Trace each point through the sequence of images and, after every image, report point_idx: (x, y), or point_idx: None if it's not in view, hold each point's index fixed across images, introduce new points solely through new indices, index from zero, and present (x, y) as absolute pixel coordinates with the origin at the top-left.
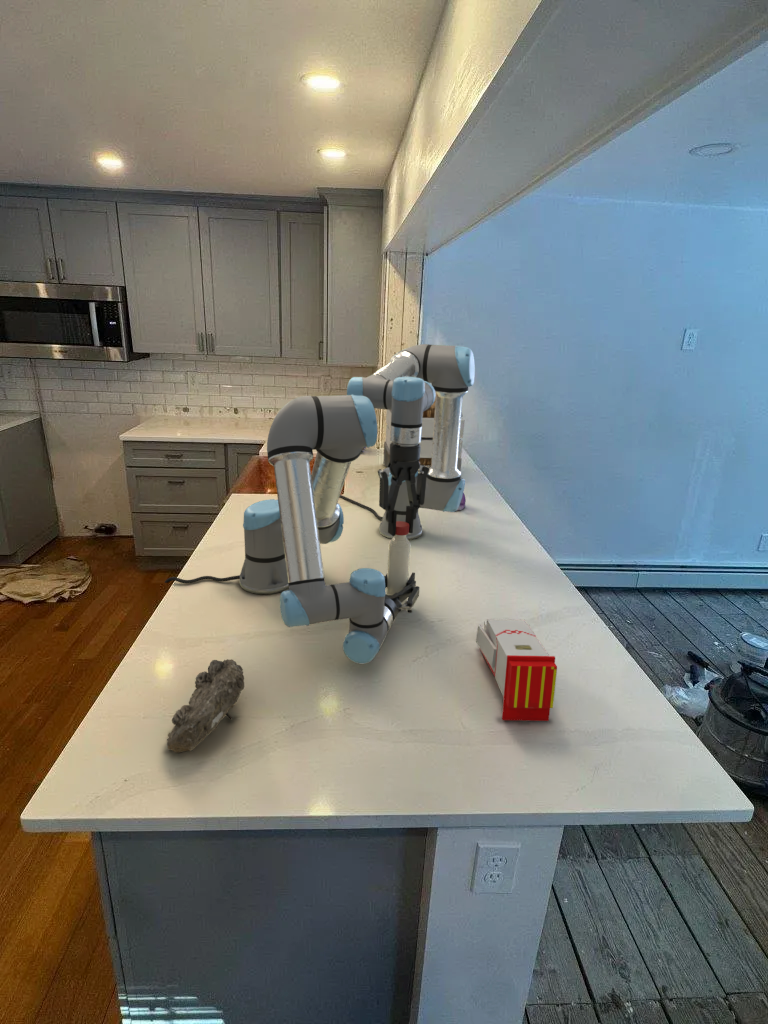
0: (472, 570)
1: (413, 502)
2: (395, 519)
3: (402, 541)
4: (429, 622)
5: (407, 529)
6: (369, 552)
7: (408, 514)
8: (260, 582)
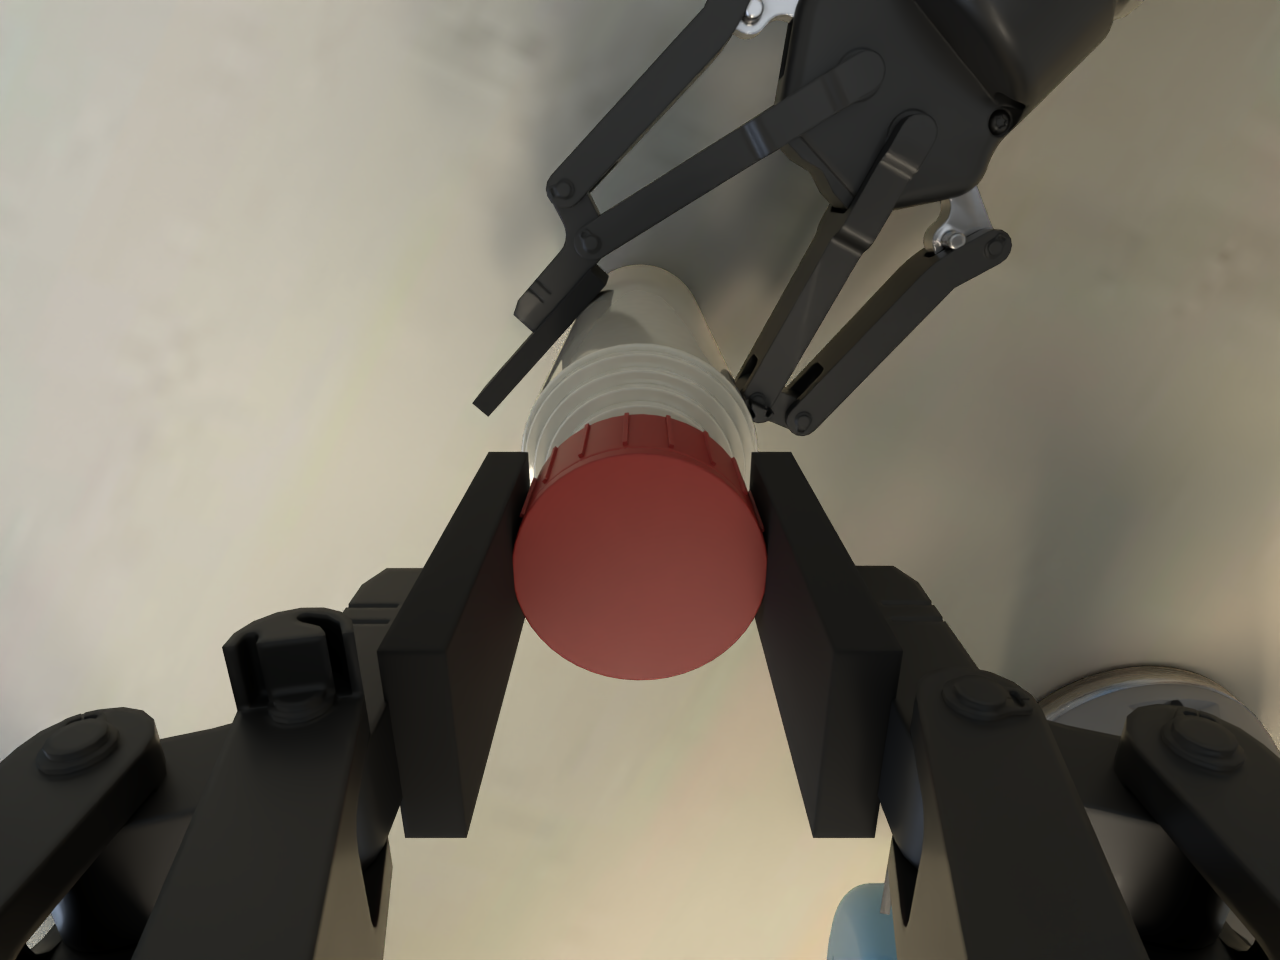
0: (6, 522)
1: (340, 779)
2: (813, 562)
3: (651, 404)
4: (550, 46)
5: (585, 446)
6: (504, 872)
7: (486, 657)
8: (1253, 728)
